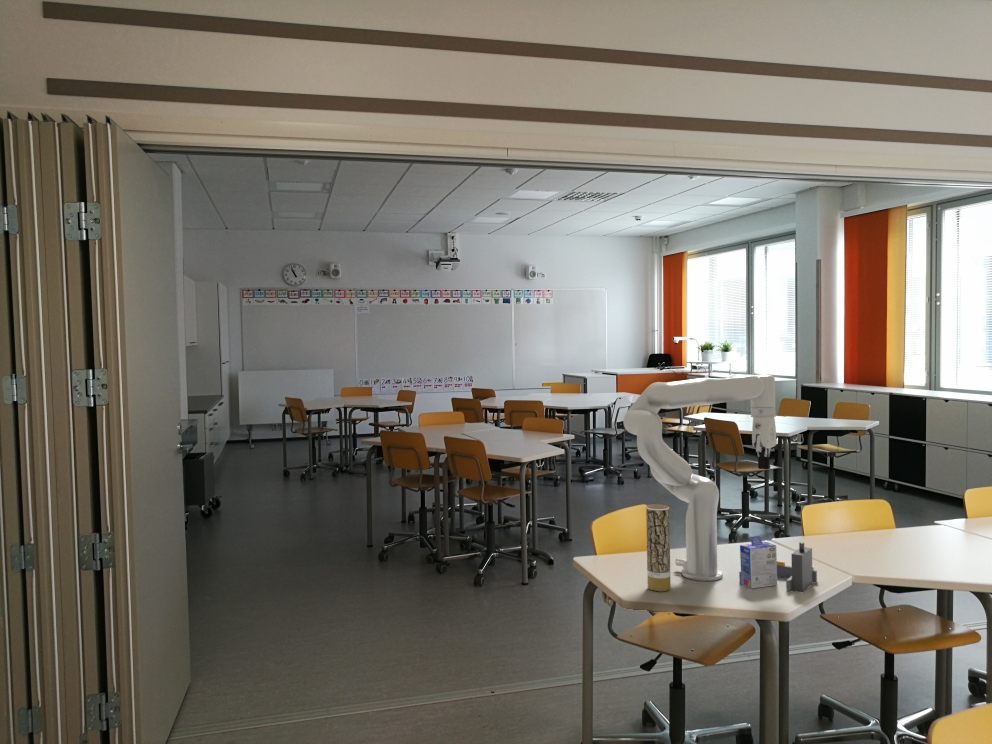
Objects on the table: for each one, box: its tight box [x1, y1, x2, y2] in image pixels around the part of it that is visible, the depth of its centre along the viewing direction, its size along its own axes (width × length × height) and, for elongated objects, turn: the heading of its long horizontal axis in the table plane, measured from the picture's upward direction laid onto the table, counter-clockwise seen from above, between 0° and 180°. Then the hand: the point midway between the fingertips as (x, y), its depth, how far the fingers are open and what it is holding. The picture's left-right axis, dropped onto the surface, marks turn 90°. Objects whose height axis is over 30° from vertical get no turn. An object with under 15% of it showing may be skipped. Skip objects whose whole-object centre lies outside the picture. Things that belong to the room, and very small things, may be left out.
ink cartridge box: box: [739, 535, 778, 589], centre depth 217 cm, size 10×6×14 cm, turn 109°
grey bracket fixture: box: [738, 541, 818, 593], centre depth 219 cm, size 18×15×13 cm
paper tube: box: [645, 503, 671, 592], centre depth 216 cm, size 7×7×25 cm
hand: (763, 468), depth 233 cm, fingers closed
